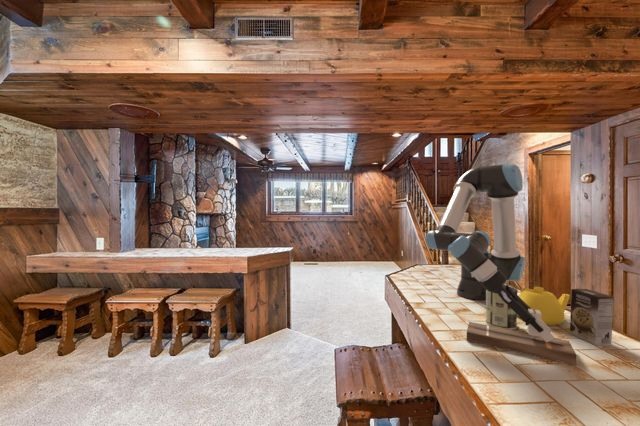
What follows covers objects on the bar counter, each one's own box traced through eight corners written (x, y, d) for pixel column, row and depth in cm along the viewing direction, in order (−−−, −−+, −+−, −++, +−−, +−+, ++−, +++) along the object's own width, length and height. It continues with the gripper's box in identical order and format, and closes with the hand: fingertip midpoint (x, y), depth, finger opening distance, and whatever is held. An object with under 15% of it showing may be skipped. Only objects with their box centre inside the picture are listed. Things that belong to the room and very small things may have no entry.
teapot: (530, 326, 110) (531, 293, 109) (501, 308, 128) (502, 280, 128) (585, 328, 109) (586, 294, 108) (548, 310, 127) (549, 281, 127)
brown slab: (468, 329, 106) (468, 321, 106) (568, 350, 92) (568, 340, 92) (466, 340, 97) (466, 331, 97) (576, 365, 83) (576, 354, 83)
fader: (527, 334, 95) (528, 308, 94) (538, 336, 93) (539, 310, 93) (528, 339, 91) (529, 312, 91) (540, 341, 90) (541, 314, 89)
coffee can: (509, 320, 115) (510, 285, 115) (522, 331, 105) (523, 292, 105) (481, 318, 117) (482, 283, 117) (490, 328, 107) (491, 290, 107)
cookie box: (568, 333, 104) (570, 288, 103) (584, 332, 104) (586, 288, 104) (595, 346, 95) (597, 296, 94) (612, 344, 95) (614, 296, 95)
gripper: (480, 276, 107) (535, 331, 99) (478, 289, 92) (542, 355, 84) (498, 264, 104) (555, 319, 96) (498, 274, 89) (566, 341, 81)
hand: (549, 336), depth 90 cm, fingers open, 5 cm apart
